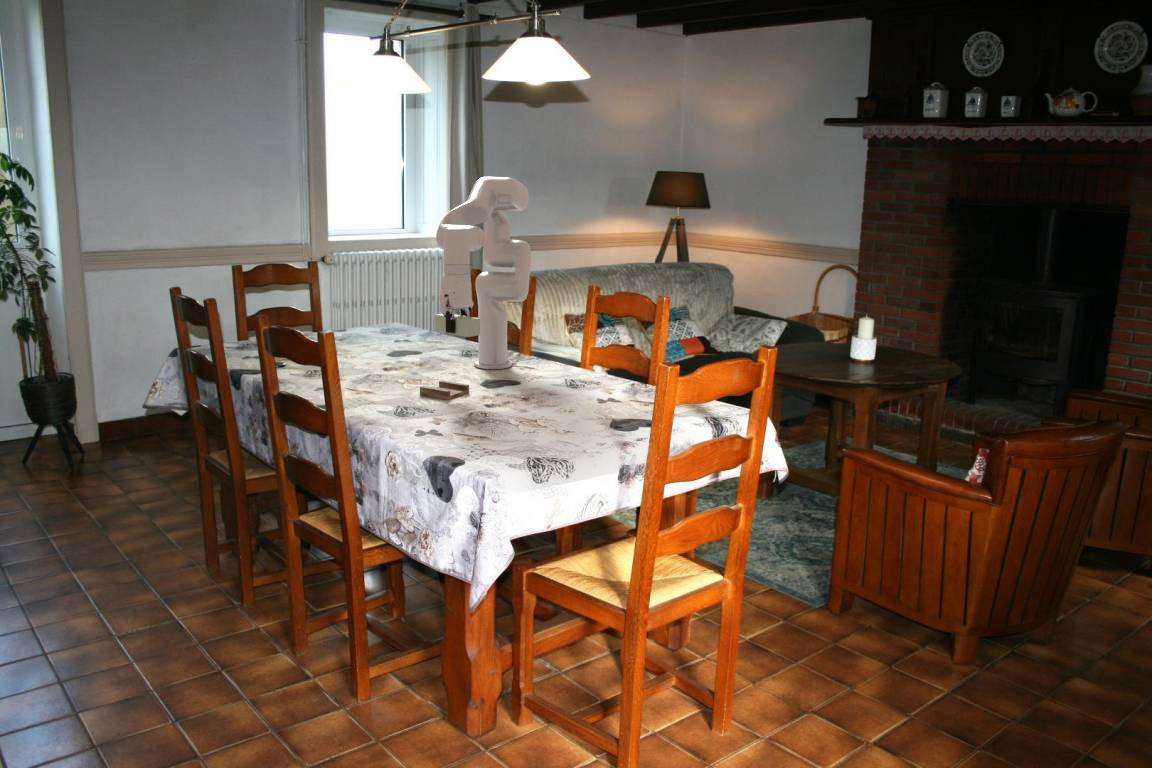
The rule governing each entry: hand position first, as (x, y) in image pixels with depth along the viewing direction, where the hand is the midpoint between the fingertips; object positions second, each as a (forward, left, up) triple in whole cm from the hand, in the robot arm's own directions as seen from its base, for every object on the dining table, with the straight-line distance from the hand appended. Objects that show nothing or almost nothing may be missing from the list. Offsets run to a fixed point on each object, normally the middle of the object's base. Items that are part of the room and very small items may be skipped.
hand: (457, 330), depth 292 cm
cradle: (+6, 0, -18) cm, 19 cm away
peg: (0, 0, -1) cm, 1 cm away
